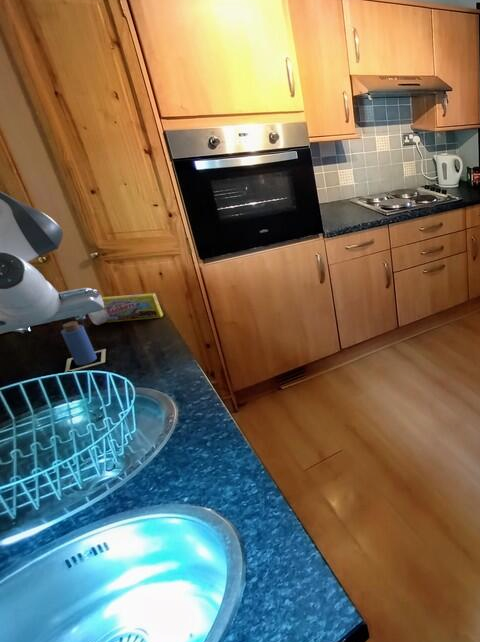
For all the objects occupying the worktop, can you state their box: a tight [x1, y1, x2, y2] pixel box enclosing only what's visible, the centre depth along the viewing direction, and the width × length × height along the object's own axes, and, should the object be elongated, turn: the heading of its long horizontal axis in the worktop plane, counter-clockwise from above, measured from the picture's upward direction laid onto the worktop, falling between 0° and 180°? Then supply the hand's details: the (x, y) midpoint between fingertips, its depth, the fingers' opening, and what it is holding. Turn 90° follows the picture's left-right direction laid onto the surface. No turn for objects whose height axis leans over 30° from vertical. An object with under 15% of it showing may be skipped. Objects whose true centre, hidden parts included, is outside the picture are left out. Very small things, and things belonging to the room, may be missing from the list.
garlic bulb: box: [87, 310, 109, 326], centre depth 140 cm, size 6×6×5 cm
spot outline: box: [64, 348, 107, 373], centre depth 122 cm, size 8×8×1 cm
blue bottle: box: [60, 320, 98, 367], centre depth 120 cm, size 4×4×12 cm
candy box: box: [101, 292, 164, 323], centre depth 141 cm, size 16×2×8 cm, turn 103°
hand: (54, 322), depth 106 cm, fingers open, 8 cm apart
